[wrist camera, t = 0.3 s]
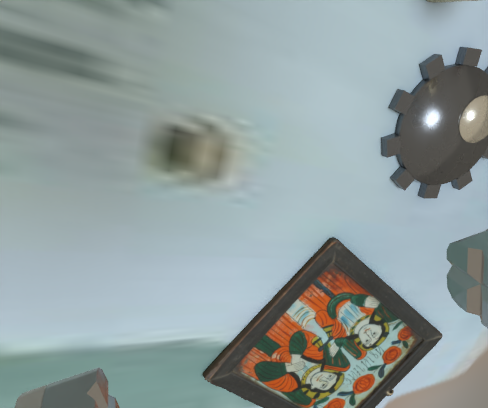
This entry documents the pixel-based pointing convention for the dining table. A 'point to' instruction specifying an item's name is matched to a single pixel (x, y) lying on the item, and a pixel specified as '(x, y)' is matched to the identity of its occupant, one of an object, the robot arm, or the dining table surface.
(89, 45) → the dining table surface
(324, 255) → the painting
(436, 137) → the sprocket plate
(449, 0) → the pin
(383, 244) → the dining table surface
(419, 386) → the dining table surface
